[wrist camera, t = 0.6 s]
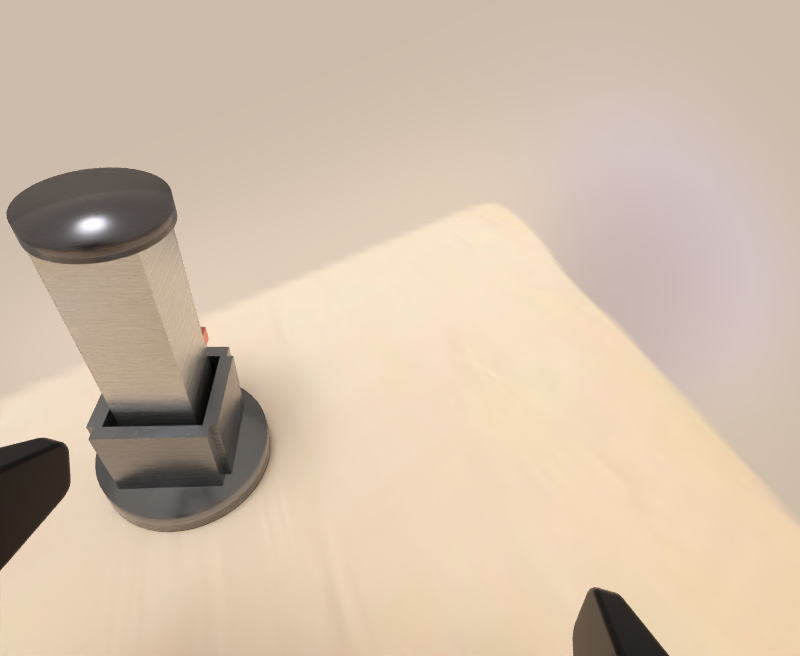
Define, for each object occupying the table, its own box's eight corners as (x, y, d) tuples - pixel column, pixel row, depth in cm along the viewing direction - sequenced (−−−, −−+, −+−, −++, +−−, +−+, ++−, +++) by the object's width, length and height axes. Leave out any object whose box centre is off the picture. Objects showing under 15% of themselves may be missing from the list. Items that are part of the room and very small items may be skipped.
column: (223, 476, 23) (148, 243, 14) (119, 479, 22) (-27, 239, 14) (238, 399, 26) (186, 170, 17) (148, 399, 26) (47, 164, 17)
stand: (260, 528, 23) (243, 463, 19) (79, 535, 22) (24, 469, 18) (277, 395, 29) (267, 324, 25) (134, 396, 28) (101, 323, 24)
